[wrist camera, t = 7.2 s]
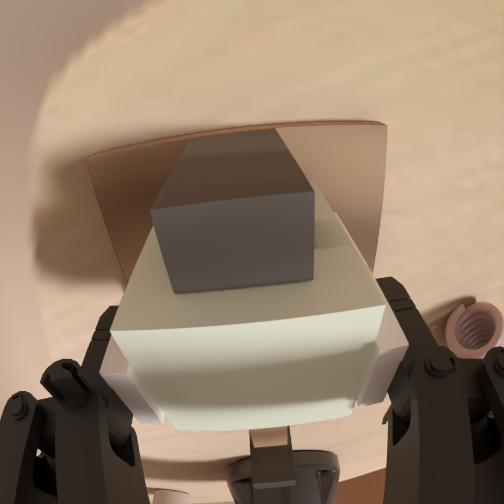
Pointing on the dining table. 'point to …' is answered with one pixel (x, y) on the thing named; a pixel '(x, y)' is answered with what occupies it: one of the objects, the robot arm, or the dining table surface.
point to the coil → (474, 330)
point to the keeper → (254, 339)
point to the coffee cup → (171, 497)
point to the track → (307, 142)
